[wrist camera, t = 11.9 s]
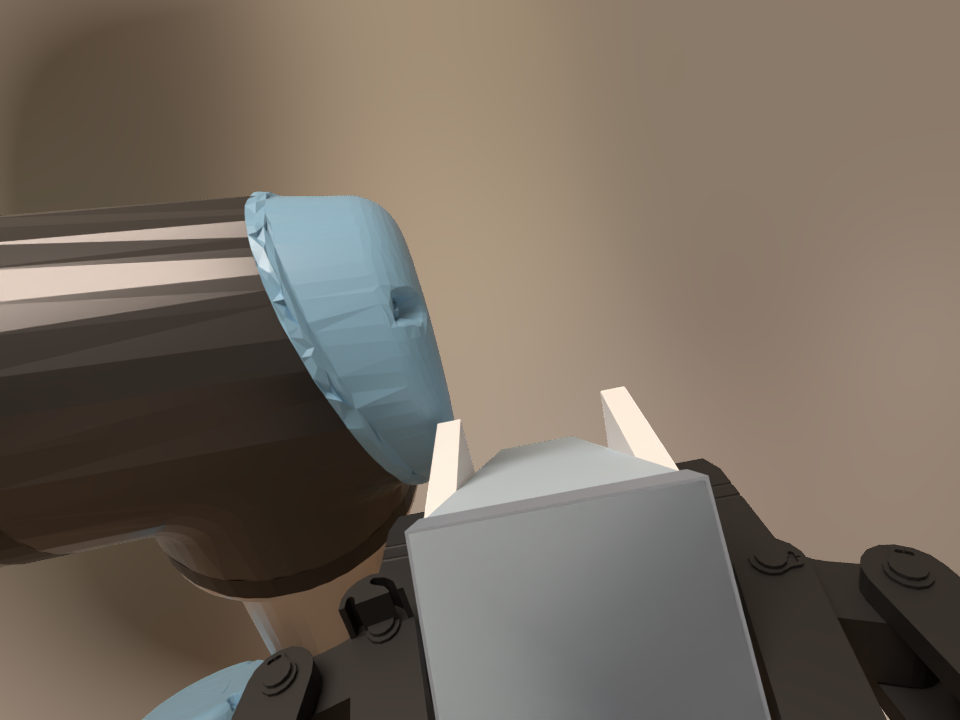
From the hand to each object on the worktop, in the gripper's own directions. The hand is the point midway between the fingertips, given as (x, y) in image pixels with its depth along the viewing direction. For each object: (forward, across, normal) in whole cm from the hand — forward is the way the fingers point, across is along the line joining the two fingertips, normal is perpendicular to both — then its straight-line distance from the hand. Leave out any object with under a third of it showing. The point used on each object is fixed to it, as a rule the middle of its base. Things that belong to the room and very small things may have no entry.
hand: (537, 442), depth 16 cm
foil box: (0, 0, -6) cm, 6 cm away
